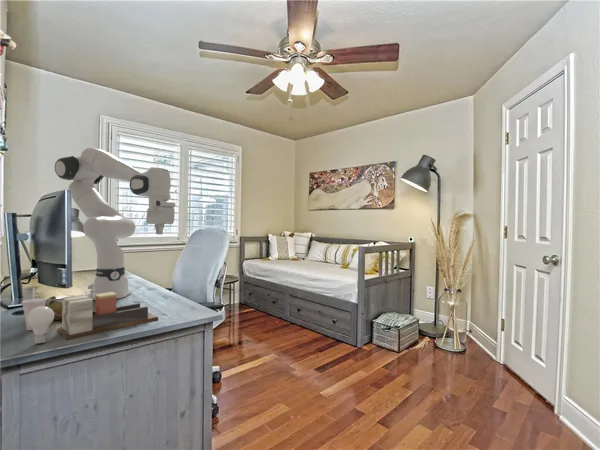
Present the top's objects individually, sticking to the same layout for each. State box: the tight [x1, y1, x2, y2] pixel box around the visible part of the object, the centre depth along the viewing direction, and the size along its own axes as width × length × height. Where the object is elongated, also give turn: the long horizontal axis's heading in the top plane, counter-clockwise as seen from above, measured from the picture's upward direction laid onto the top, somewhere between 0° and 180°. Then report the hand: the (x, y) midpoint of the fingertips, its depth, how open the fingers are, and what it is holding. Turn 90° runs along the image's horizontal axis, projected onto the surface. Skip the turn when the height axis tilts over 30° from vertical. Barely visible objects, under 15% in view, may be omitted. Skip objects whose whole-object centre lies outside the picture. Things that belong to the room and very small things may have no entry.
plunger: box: [94, 292, 117, 316], centre depth 109 cm, size 5×5×10 cm
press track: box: [57, 294, 159, 341], centre depth 111 cm, size 12×28×11 cm, turn 138°
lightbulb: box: [27, 306, 55, 345], centre depth 93 cm, size 6×6×11 cm
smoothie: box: [21, 287, 47, 331], centre depth 106 cm, size 6×6×14 cm
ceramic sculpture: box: [45, 296, 63, 321], centre depth 117 cm, size 11×9×15 cm
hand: (159, 234), depth 139 cm, fingers closed
